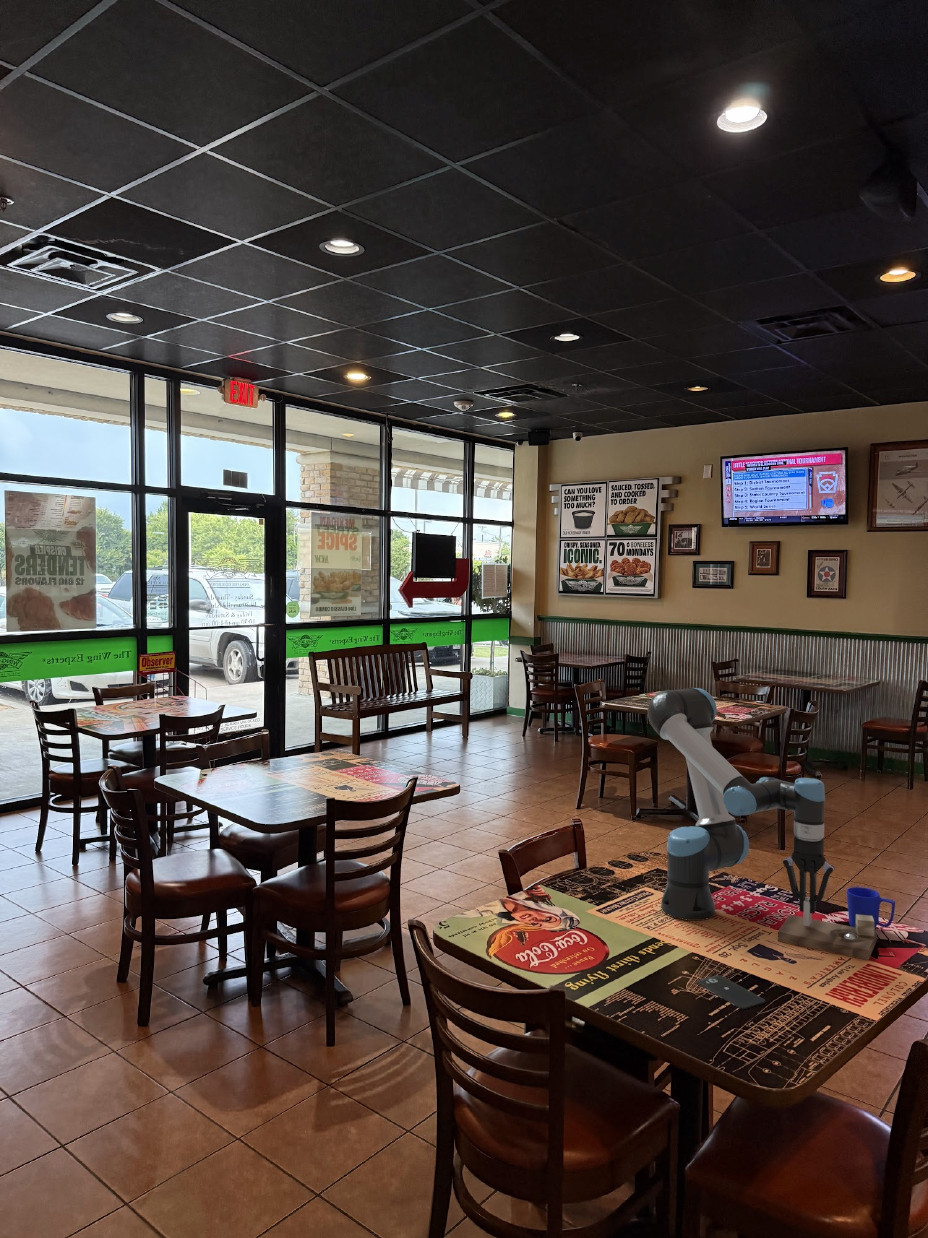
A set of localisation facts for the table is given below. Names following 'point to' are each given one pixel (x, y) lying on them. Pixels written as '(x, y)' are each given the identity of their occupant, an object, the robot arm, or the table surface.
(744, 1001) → the smartphone
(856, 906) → the mug
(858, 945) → the deck
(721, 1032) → the table surface
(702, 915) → the robot arm
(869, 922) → the maple cube
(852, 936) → the ball
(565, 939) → the table surface
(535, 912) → the table surface
